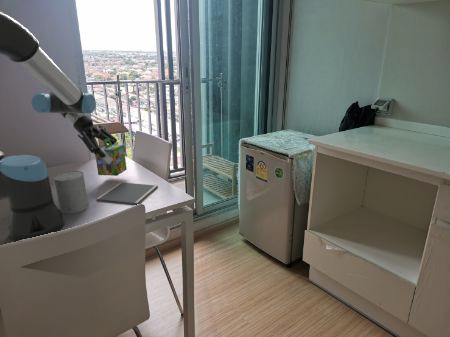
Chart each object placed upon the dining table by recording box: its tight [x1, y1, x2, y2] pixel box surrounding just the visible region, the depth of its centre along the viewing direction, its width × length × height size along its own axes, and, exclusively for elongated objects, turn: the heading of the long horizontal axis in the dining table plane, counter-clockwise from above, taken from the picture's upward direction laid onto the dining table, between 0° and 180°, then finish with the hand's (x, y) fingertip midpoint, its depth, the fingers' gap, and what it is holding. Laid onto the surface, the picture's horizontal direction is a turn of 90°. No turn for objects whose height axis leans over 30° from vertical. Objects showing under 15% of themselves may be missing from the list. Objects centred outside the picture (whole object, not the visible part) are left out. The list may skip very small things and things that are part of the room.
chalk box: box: [94, 138, 128, 177], centre depth 139 cm, size 9×9×15 cm
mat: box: [95, 181, 159, 206], centre depth 128 cm, size 17×17×1 cm
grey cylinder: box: [53, 170, 90, 215], centre depth 115 cm, size 10×10×12 cm
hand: (117, 158), depth 138 cm, fingers closed on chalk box, 9 cm apart
